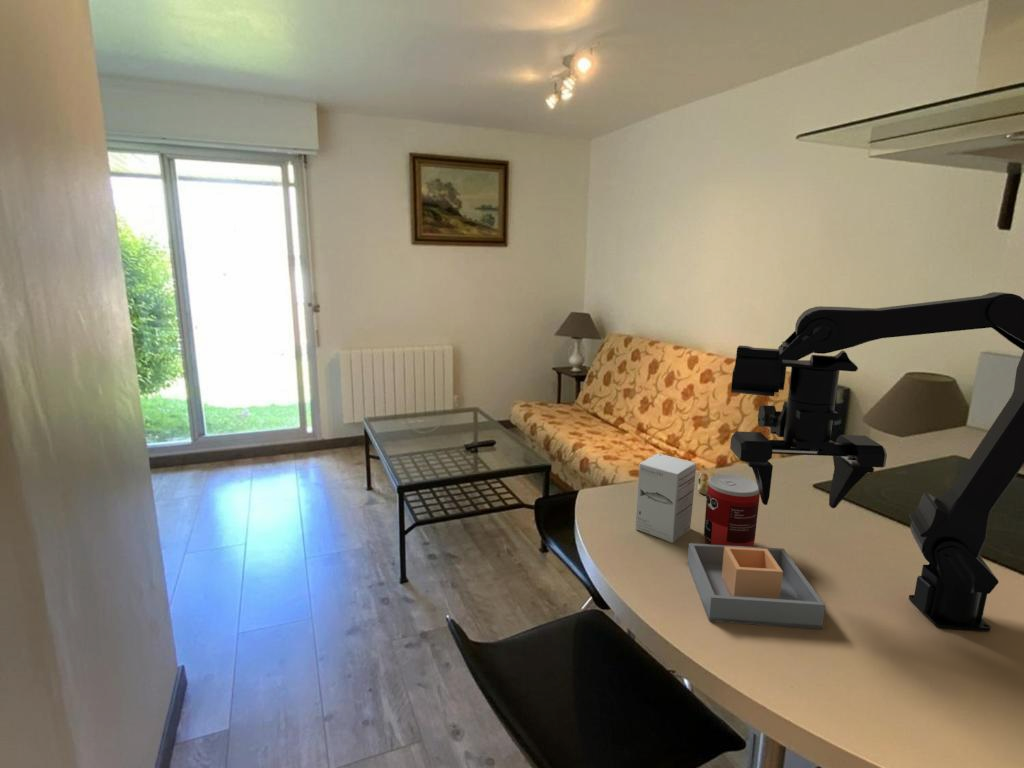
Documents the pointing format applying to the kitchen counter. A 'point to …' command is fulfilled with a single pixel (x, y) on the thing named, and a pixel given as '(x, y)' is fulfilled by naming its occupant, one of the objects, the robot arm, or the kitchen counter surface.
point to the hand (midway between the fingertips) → (797, 505)
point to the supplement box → (665, 496)
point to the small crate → (751, 573)
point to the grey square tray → (789, 611)
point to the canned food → (731, 511)
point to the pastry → (704, 482)
